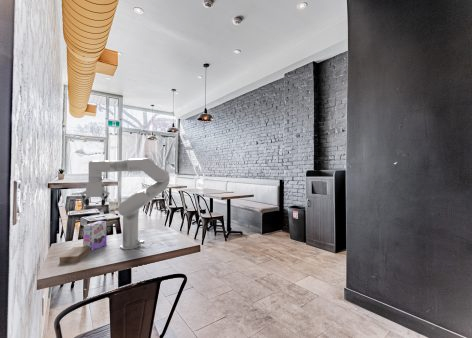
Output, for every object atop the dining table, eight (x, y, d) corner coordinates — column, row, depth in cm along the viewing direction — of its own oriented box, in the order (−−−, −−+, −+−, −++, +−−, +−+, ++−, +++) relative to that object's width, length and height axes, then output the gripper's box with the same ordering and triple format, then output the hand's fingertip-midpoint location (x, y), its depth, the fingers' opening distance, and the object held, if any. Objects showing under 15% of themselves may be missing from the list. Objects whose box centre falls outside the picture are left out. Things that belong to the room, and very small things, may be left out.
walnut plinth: (89, 252, 149) (89, 246, 149) (77, 263, 132) (77, 256, 132) (73, 253, 147) (73, 247, 147) (59, 264, 130) (59, 257, 130)
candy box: (90, 251, 149) (90, 225, 148) (82, 251, 150) (82, 225, 150) (106, 244, 162) (106, 220, 162) (99, 244, 163) (99, 220, 163)
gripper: (111, 179, 161) (111, 204, 161) (83, 179, 158) (83, 205, 158) (106, 179, 153) (106, 206, 153) (78, 179, 151) (77, 206, 151)
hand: (95, 205), depth 156 cm, fingers open, 9 cm apart
